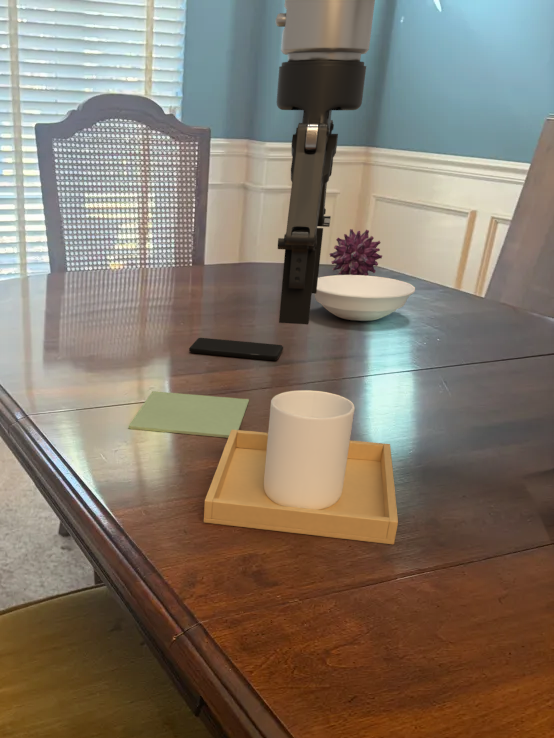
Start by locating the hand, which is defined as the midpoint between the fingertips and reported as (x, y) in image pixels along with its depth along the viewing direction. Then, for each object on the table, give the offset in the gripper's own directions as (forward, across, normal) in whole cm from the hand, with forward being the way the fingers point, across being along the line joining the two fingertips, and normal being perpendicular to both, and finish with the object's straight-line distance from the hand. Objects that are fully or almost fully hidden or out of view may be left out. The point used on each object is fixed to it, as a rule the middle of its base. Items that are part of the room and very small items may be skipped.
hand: (299, 306), depth 78 cm
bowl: (+19, -77, +8) cm, 80 cm away
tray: (+19, +3, +2) cm, 19 cm away
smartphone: (+19, -48, -12) cm, 53 cm away
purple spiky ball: (+19, -114, +6) cm, 116 cm away
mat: (+19, -17, -14) cm, 29 cm away
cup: (+19, +3, +2) cm, 19 cm away
